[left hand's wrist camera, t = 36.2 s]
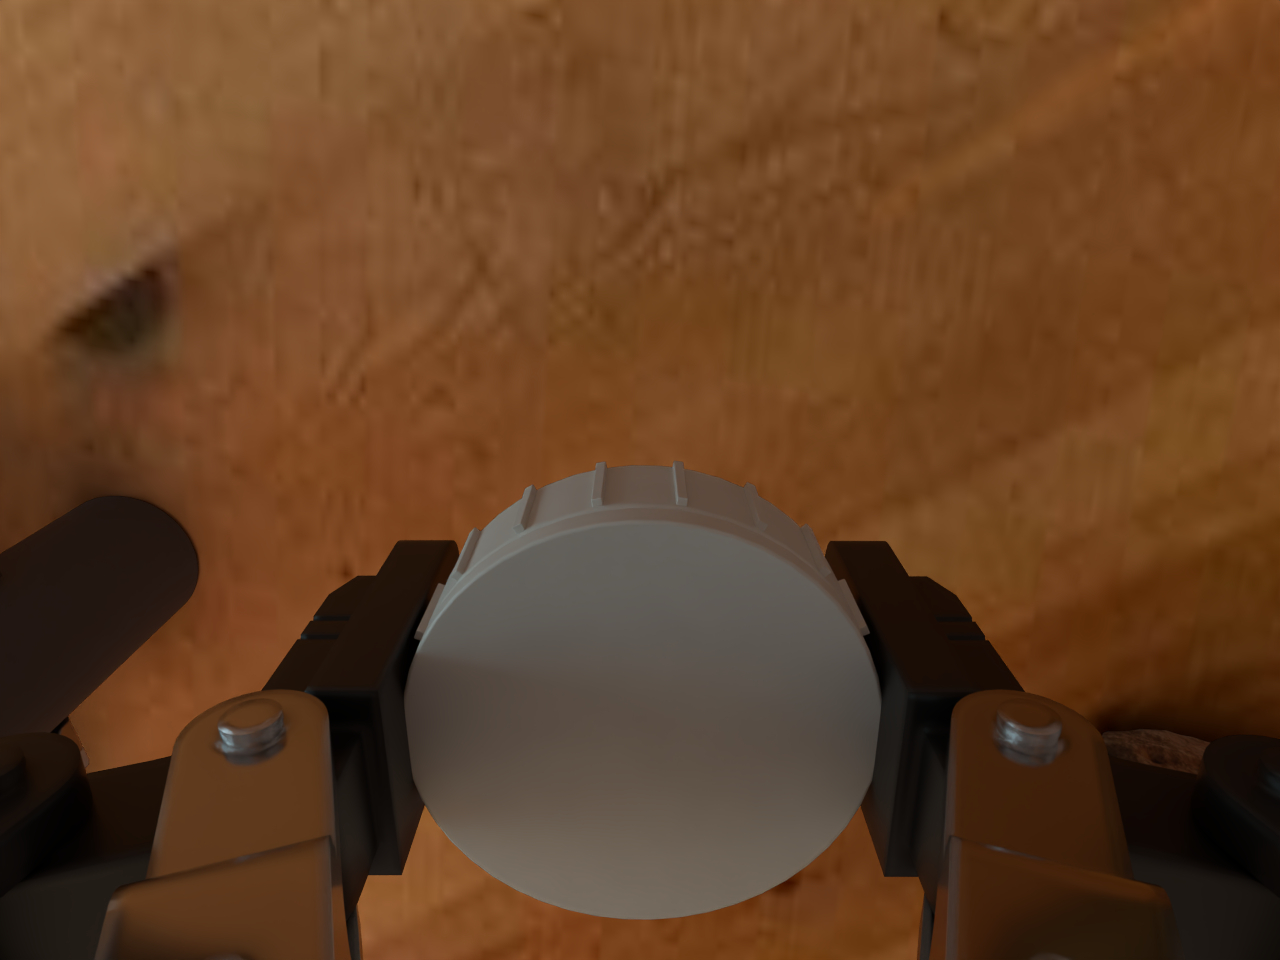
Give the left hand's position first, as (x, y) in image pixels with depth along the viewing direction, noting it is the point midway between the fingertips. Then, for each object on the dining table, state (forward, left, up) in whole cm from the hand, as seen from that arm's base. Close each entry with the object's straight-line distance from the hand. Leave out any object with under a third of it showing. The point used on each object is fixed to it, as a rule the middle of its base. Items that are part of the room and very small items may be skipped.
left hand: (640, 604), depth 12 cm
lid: (0, 0, +3) cm, 3 cm away
